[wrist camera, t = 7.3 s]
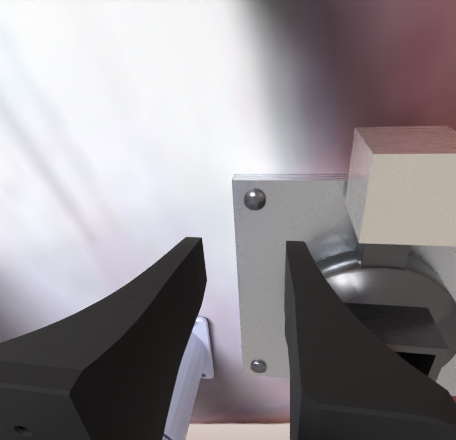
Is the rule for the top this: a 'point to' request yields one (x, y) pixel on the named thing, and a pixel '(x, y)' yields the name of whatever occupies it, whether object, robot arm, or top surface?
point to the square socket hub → (400, 240)
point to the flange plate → (319, 249)
